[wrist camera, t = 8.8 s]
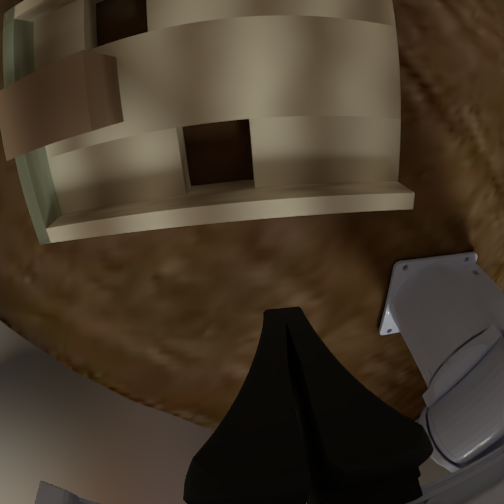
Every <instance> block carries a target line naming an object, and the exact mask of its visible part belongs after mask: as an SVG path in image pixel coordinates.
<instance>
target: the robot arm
mask: <svg viewBox="0 0 504 504" xmlns="http://www.w3.org/2000/svg"><path fill="white" fill-rule="evenodd" d="M465 258H466V259H465ZM476 260H477V254H476V253H475V252H467V253H459V254H452V255H444V256H436V257H428V258H420V259H411V260H403V261H398V262H396V263H395V264H394V266H393V271H392V276H391V281H390V286H389V290H388V295H387V299H386V303H385V308H384V312H383V316H382V320H381V324H380V327H379V333H380V335H387V334H392V333H397V332H400V333H401V335H402V337H403V339H404V341H405V342H406V344H407V346H408V348H409V350H410V352H411V354H412V356H413V358H414V360H415V362H416V364H417V366H418V368H419V370H420V372H421V374H422V376H423V378H424V380H425V382H426V384H427V387H428V390H427V391H426V392H425V393H424V394H423V395H422V396H423V399H424V401H425V403H426V405H427V406H426V407H425V408H424V409H423V411H422V413H421V415H420V424H419V423H417V422H415V421H413V420H411V419H410V418H408V417H406V416H404V415H403V414H401V413H400V412H398V411H397V410H395V409H394V408H392V407H391V406H389V405H388V404H386V403H385V402H383V401H382V400H381V399H380V398H378V397H377V396H376V395H374V394H373V393H372V392H371V391H369V390H368V389H367V388H366V387H364V386H363V385H362V384H361V383H360V382H359V381H358V380H357V379H356V378H355V377H354V376H352V375H351V374H350V373H349V372H348V371H347V370H346V369H345V367H344V366H343V365H342V364H341V363H340V362H339V361H338V360H337V359H336V358H335V356H334V355H333V354H332V353H331V352H330V350H329V349H328V348H327V347H326V345H325V344H324V343H323V341H322V340H321V339H320V337H319V336H318V335H317V333H316V332H315V330H314V329H313V327H312V326H311V324H310V323H309V321H308V320H307V318H306V316H305V315H304V313H303V311H302V309H301V308H300V307H290V308H280V309H269V310H266V311H264V320H263V328H262V333H261V337H260V341H259V344H258V348H257V351H256V354H255V357H254V360H253V362H252V365H251V368H250V370H249V373H248V375H247V377H246V380H245V382H244V384H243V386H242V388H241V390H240V392H239V394H238V396H237V397H236V399H235V401H234V403H233V404H232V406H231V408H230V410H229V411H228V413H227V414H226V416H225V417H224V419H223V420H222V422H221V423H220V425H219V426H218V427H217V429H216V430H215V432H214V433H213V434H212V436H211V437H210V438H209V440H208V441H207V442H206V443H205V444H204V445H203V447H202V448H201V449H200V450H199V451H198V453H197V454H196V455H195V456H194V457H193V459H192V461H191V464H190V466H189V469H188V472H187V475H186V479H185V484H184V497H183V499H184V501H185V502H186V503H187V504H306V502H307V504H421V503H422V504H504V292H503V291H502V290H501V289H500V288H499V287H498V286H497V285H496V284H495V282H494V281H493V280H492V279H491V278H490V277H489V276H488V275H487V274H486V273H485V272H484V271H483V270H482V269H481V268H480V267H479V266H478V265H477V264H476ZM405 265H406V266H405ZM404 266H405V267H404ZM403 267H404V268H403ZM295 408H296V409H295ZM296 412H297V414H296ZM297 417H298V419H297ZM298 422H299V423H298ZM429 457H431V458H432V459H433V460H434V461H435V462H436V463H437V464H439V465H441V466H443V467H444V468H446V469H447V470H449V471H450V472H451V474H449V475H447V476H444V477H442V478H440V479H438V480H435V481H433V482H431V483H428V484H426V485H423V486H420V483H419V480H418V478H419V477H420V476H421V473H420V470H419V466H420V465H421V464H423V463H424V462H425V461H426V460H427V459H428V458H429ZM35 504H99V503H95V502H92V501H89V500H86V499H83V498H79V497H78V496H77V495H75V494H73V493H71V492H69V491H67V490H65V489H62V488H60V487H57V486H54V485H52V484H49V483H47V482H44V481H40V484H39V488H38V492H37V496H36V500H35Z"/></svg>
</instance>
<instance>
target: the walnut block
mask: <svg viewBox="0 0 504 504" xmlns="http://www.w3.org/2000/svg"><path fill="white" fill-rule="evenodd" d="M121 122H124V119H123V112H122V105H121V97H120V89H119V80H118V70H117V59H116V57H114V56H109V55H105V54H100V53H95V52H91V51H85V50H82V51H79V52H77V53H74V54H72V55H69V56H67V57H65V58H62V59H60V60H58V61H55V62H53V63H51V64H49V65H47V66H45V67H43V68H41V69H39V70H37V71H35V72H33V73H31V74H29V75H27V76H25V77H23V78H21V79H19V80H18V81H16V82H14V83H12V84H11V85H9V86H7V87H5V88H4V89H2V90H0V128H1V134H2V140H3V146H4V151H5V156H6V160H7V161H8V160H10V159H13V158H15V157H17V156H20V155H22V154H25V153H28V152H30V151H33V150H36V149H38V148H41V147H44V146H47V145H49V144H52V143H55V142H58V141H61V140H64V139H68V138H71V137H74V136H77V135H81V134H84V133H87V132H91V131H94V130H97V129H100V128H104V127H107V126H110V125H114V124H117V123H121Z"/></svg>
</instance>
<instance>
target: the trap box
mask: <svg viewBox="0 0 504 504" xmlns="http://www.w3.org/2000/svg"><path fill="white" fill-rule="evenodd" d="M102 1H104V0H24V1H22V2H21V3H19V4H18V5H16V6H15V7H13V8H12V9H10V10H9V11H7V12H6V13H4V23H3V74H4V88H5V87H7V86H9V85H11V84H12V83H14V82H16V81H18V80H19V79H21V78H23V77H25V76H27V75H29V74H31V73H33V72H35V71H37V70H39V69H41V68H43V67H45V66H47V65H49V64H51V63H53V62H55V61H58V60H60V59H62V58H65V57H67V56H69V55H72V54H74V53H77V52H79V51H82V50H85V51H91V52H95V53H100V54H105V55H109V56H114V57H116V59H117V70H118V80H119V89H120V97H121V105H122V112H123V119H124V122H121V123H117V124H114V125H110V126H107V127H104V128H100V129H97V130H94V131H91V132H87V133H84V134H81V135H77V136H74V137H71V138H68V139H64V140H61V141H58V142H55V143H52V144H49V145H47V146H44V147H41V148H38V149H36V150H33V151H30V152H28V153H25V154H22V155H20V156H17V157H15V161H16V165H17V170H18V174H19V178H20V182H21V186H22V189H23V193H24V196H25V200H26V203H27V207H28V210H29V213H30V216H31V219H32V222H33V225H34V228H35V231H36V234H37V237H38V239H39V242H40V244H47V243H53V242H60V241H67V240H74V239H82V238H89V237H97V236H104V235H112V234H120V233H128V232H137V231H145V230H154V229H163V228H172V227H181V226H191V225H200V224H210V223H221V222H231V221H242V220H254V219H266V218H278V217H291V216H304V215H318V214H333V213H349V212H367V211H386V210H408V209H413V205H414V197H415V193H414V192H413V191H411V190H410V189H408V188H407V187H405V186H404V185H402V184H401V183H399V182H398V174H399V159H400V134H401V91H400V68H399V53H398V42H397V32H396V24H395V16H394V9H393V3H392V0H146V5H147V23H148V32H146V33H142V34H138V35H134V36H131V37H127V38H124V39H120V40H117V41H114V42H111V43H108V44H105V45H102V46H99V47H98V46H97V26H96V3H99V2H102ZM242 119H249V128H250V139H251V151H252V163H253V175H254V180H242V181H232V182H222V183H212V184H203V185H195V186H191V183H190V176H189V170H188V163H187V156H186V149H185V141H184V134H183V127H184V126H190V125H198V124H205V123H213V122H222V121H231V120H242Z"/></svg>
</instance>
